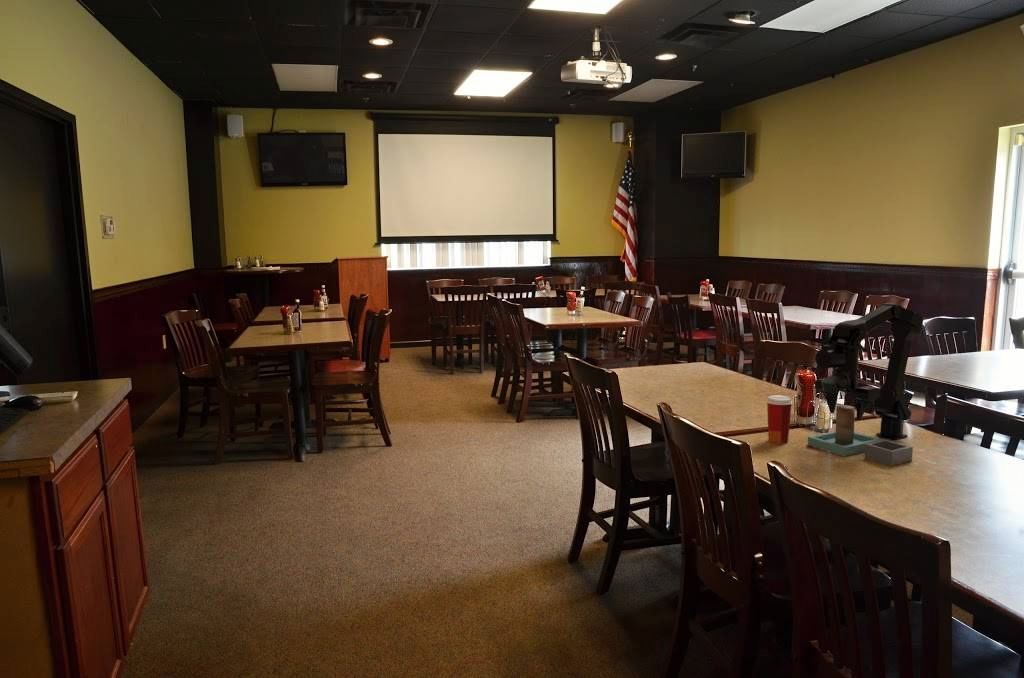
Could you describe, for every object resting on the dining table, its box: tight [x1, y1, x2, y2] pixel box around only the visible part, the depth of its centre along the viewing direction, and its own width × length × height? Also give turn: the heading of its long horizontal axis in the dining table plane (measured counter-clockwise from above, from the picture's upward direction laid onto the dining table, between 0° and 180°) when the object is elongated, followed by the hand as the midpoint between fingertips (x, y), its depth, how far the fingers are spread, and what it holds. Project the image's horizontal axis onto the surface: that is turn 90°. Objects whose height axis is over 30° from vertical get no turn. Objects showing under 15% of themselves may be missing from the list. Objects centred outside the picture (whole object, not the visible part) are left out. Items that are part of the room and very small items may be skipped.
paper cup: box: [765, 394, 794, 445], centre depth 221 cm, size 8×8×14 cm
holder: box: [863, 439, 914, 467], centre depth 203 cm, size 9×9×4 cm
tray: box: [807, 430, 883, 457], centre depth 216 cm, size 16×13×2 cm
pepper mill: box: [835, 404, 856, 445], centre depth 215 cm, size 5×5×11 cm
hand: (845, 416), depth 214 cm, fingers open, 9 cm apart
